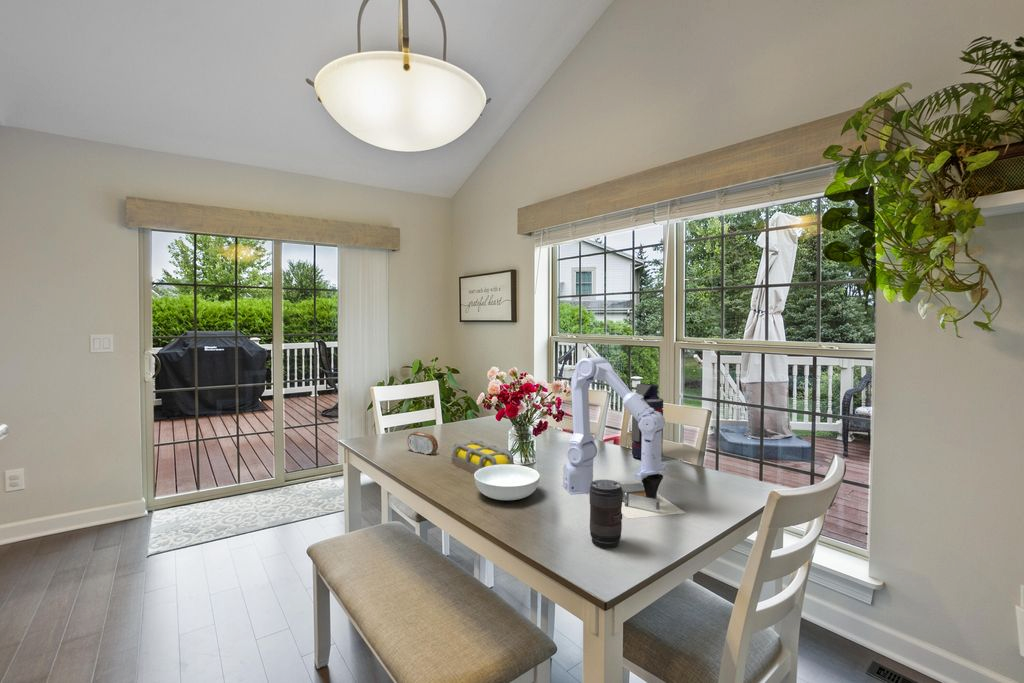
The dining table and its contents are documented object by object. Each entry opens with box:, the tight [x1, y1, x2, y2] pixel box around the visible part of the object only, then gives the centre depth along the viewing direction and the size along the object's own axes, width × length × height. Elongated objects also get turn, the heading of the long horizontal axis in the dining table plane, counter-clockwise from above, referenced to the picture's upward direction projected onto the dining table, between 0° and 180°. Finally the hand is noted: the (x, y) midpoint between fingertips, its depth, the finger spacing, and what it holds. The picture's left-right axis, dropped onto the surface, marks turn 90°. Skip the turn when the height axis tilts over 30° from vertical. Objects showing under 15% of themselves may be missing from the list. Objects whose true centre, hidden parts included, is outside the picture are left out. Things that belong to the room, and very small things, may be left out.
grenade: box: [631, 383, 664, 459], centre depth 192 cm, size 14×12×30 cm
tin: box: [407, 431, 439, 455], centre depth 199 cm, size 15×3×8 cm, turn 58°
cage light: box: [451, 439, 515, 475], centre depth 180 cm, size 15×8×30 cm
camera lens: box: [589, 479, 623, 550], centre depth 120 cm, size 8×8×15 cm
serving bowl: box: [473, 464, 541, 501], centre depth 153 cm, size 21×21×7 cm
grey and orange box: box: [621, 482, 658, 503], centre depth 148 cm, size 11×6×5 cm, turn 103°
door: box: [625, 493, 660, 512], centre depth 141 cm, size 10×1×4 cm, turn 58°
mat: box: [621, 493, 686, 519], centre depth 144 cm, size 18×16×1 cm
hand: (650, 498), depth 142 cm, fingers closed
